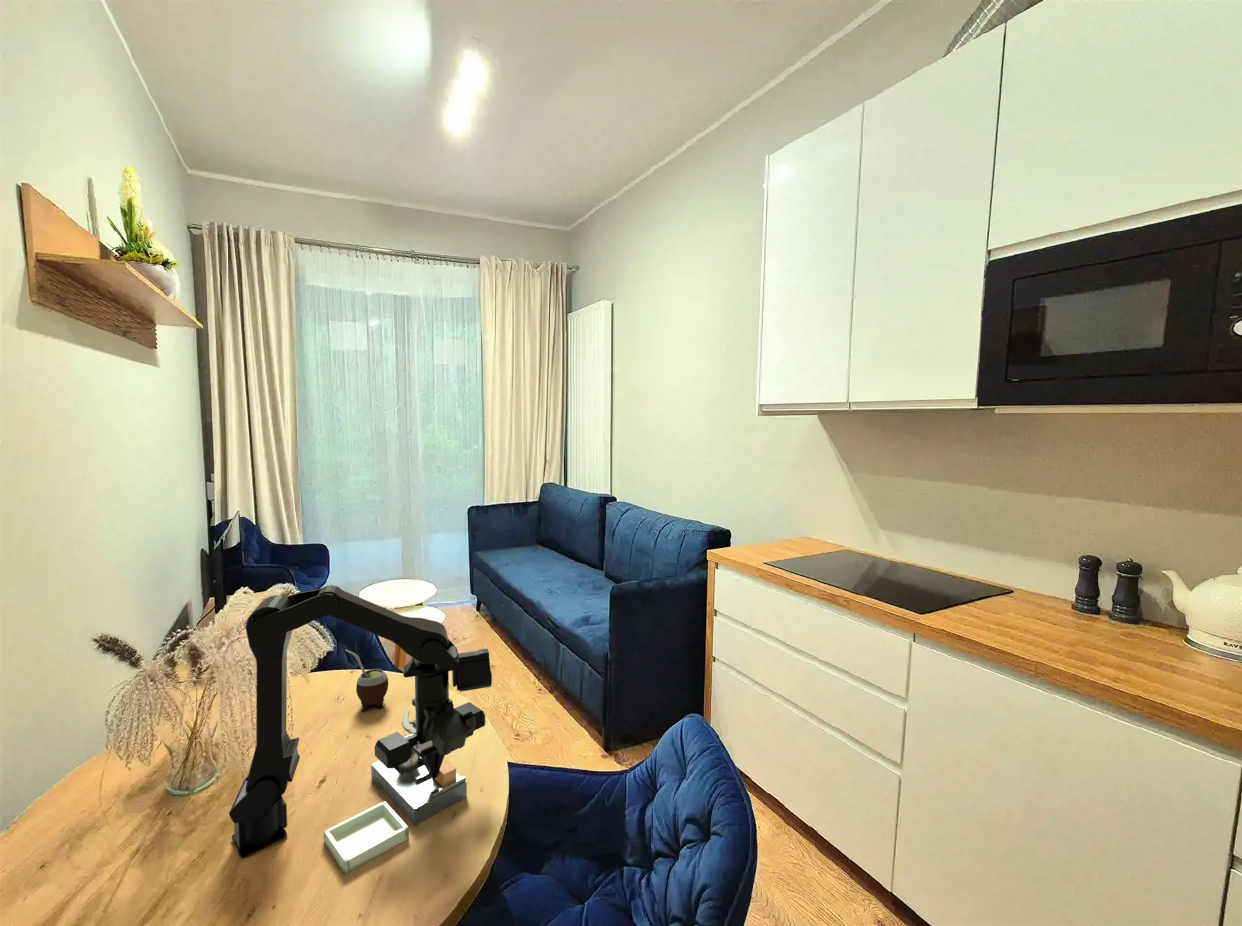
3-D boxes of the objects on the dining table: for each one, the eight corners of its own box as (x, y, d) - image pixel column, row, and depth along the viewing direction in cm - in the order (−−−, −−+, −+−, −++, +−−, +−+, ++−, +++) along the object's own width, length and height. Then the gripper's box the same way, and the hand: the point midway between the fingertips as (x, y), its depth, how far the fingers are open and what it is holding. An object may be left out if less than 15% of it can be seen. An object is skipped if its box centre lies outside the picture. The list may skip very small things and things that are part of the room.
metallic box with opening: (414, 825, 94) (414, 805, 93) (371, 779, 106) (371, 760, 105) (466, 797, 101) (466, 778, 101) (420, 756, 113) (420, 739, 113)
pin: (402, 790, 103) (401, 752, 102) (391, 779, 106) (390, 741, 105) (425, 778, 106) (425, 741, 105) (414, 768, 109) (413, 732, 108)
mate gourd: (395, 702, 134) (393, 642, 133) (369, 718, 127) (367, 655, 126) (372, 695, 137) (370, 637, 136) (345, 711, 130) (343, 649, 129)
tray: (345, 874, 84) (345, 862, 83) (324, 842, 90) (323, 831, 90) (408, 838, 91) (408, 827, 91) (385, 811, 97) (384, 800, 97)
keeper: (444, 787, 99) (444, 774, 99) (432, 776, 102) (431, 763, 102) (456, 781, 101) (456, 768, 100) (443, 770, 104) (443, 758, 103)
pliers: (449, 704, 131) (435, 741, 116) (449, 710, 131) (436, 748, 116) (406, 706, 130) (387, 744, 115) (406, 713, 130) (387, 751, 115)
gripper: (401, 734, 86) (403, 828, 87) (502, 691, 100) (502, 773, 101) (372, 708, 94) (374, 794, 95) (469, 672, 107) (470, 748, 108)
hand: (433, 777), depth 100 cm, fingers closed
